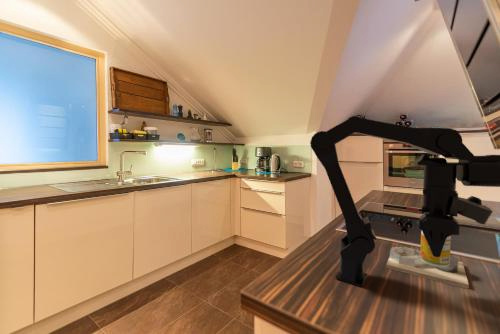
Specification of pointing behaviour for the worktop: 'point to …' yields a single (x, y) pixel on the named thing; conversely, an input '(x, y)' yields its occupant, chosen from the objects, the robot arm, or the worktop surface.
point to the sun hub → (451, 266)
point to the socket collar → (413, 262)
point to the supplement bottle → (428, 257)
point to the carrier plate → (432, 272)
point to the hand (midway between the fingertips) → (436, 252)
